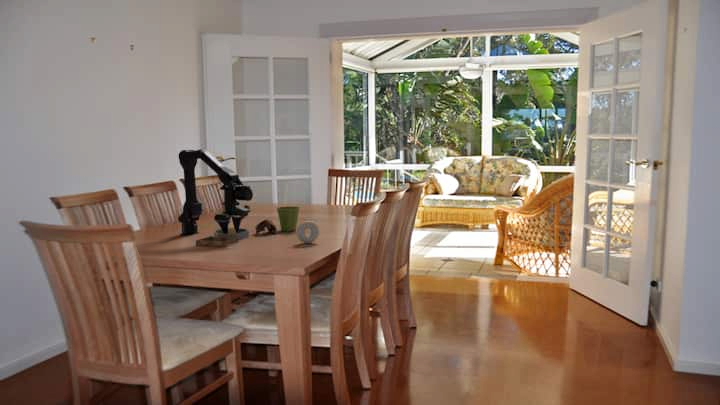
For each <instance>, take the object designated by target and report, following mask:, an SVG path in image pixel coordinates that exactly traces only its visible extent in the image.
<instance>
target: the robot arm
mask: <svg viewBox="0 0 720 405" xmlns="http://www.w3.org/2000/svg"><path fill="white" fill-rule="evenodd" d="M198 159H199V160H201V161H202V162H203V163H204V164H206V165H207V166H208V167H209V168H210V169H211V170H212V171H213V172H214V173H216V175H217V177H218V179H219V181H220V182H221V183H222V184H223V185H222V186H221V187H219V191H223V202H222V203H221V205H223V207H224V208H223V209H224V210H223V211H222V213H215V215H214V219H213V220H214V221H215V222H216V223H217V224H218V226H219V228H220V229H222V231H223V233H225V234H228V228H229V224H230V223H231V222H232V225H233V228H234V229H235V230H236V232H238V230H239V228H240V226H241V223H242V221H243V220H244V219H245V218H246V217H248V215H249V213H251V208H250V205H248V204H245V205H241V204H240V201H246V202H247V201H248V202H250V201H252V200H253V197H254V193H253V190H252V188H251V186H250V185H244V184H243V182H242V180H241V178H239V174H238V173H237V172H235V171H234V170H232V169H231V168H228V167H227V166H224V165H223V164H222V162H220V161H219V160H218V159H217V158H216V157H214V155H213V154H212V153H210V152H209V150H208V149H205V148H202V149H197V150H194V149H183V150H180V151H179V153H178V160H179V165H180V166H181V168H182V169H183V178H184V180H183V182H184V194H185V200H184V202H183V206H182V213H181V214H179V216H178V217H177V219H178V223H181V233H179V235H180V236H182V235H183V236H193V235H197V234H199V233H200V232H198V223H197V221H200V218H201V217H200V216H201V215H202V212H203V208H202V207H203V206H202V205H203V203H202V202H199V201H198V198H197V188H196V187H197V185H196V184H197V183H196V173H195V172H196V171H195V170H196V166H197V164H198Z"/></svg>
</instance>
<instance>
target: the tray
mask: <svg viewBox="0 0 720 405" xmlns="http://www.w3.org/2000/svg"><path fill="white" fill-rule="evenodd" d="M238 242H239V239H238V238H231V237H216V236H214V235H211V236H207V237H203V238H200V239H197V240H195V246H197V247H198V246H200V247H210V246H212V248H214V247H215V248H222V249H223V248H225V249H226V248H228V247H229V246H230V245H233V244H235V243H238Z"/></svg>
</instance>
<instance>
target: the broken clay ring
mask: <svg viewBox="0 0 720 405" xmlns="http://www.w3.org/2000/svg"><path fill="white" fill-rule="evenodd" d="M254 228H255V234H257V235H258V234H259V233H261V232H266V229H267V232H268V233H271V232H273V233H274V234H275V235H278V234H279V233H278V230H277V227H276V225H275V224H274V222H273V221H272V220H269V219H264V220H262V221H260V222H259V223H257V224H256V226H255V227H254Z"/></svg>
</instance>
